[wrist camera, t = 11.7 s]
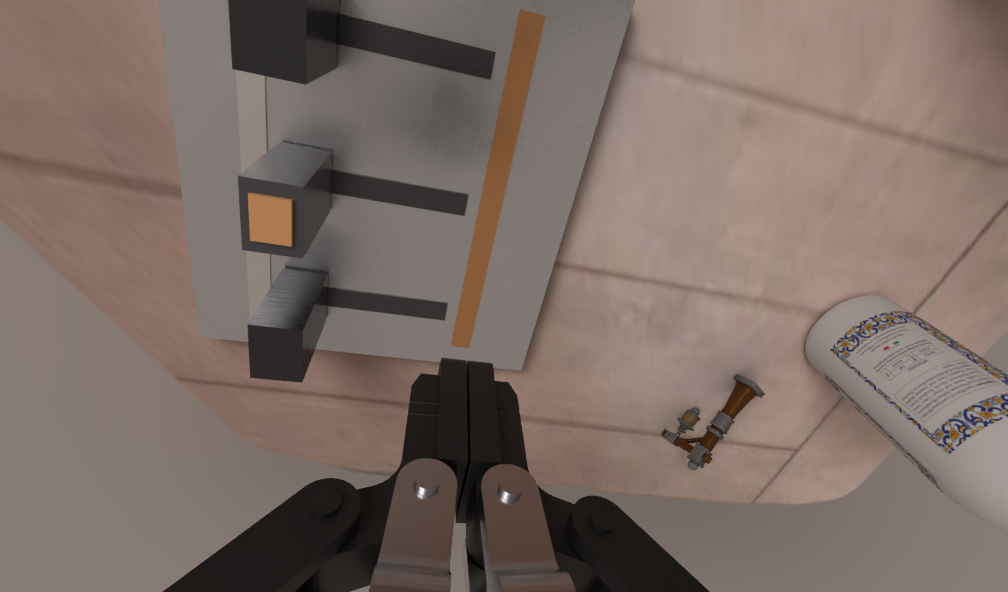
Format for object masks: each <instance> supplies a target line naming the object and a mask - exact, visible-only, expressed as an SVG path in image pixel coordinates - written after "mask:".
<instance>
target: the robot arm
mask: <svg viewBox="0 0 1008 592" xmlns="http://www.w3.org/2000/svg"><path fill="white" fill-rule="evenodd" d="M455 513H456V523H466V541H465V544H464V548H463V567H464V579H465V592H709V591H708V590H707V589H706V588H705V587H704V586H703V585H702V584H701V583H700V582H698V580H696V579H695V578H694V577H693V576H692V575H691V574H690V573H689V572H688V571H687V570H686V569H685V568H683V567H682V566H681V565H680V564H679V563H678V562H677V561H676V560H675V559H674V558H673V557H672V556H671V555H670V554H668V553H667V552H666V551H665V550H664V549H663V548H662V547H661V546H660V545H659V544H658V543H657V542H656V541H654V540H653V539H652V538H651V537H650V536H649V535H648V534H647V533H646V532H645V531H644V530H643V529H642V528H640V527H639V526H638V525H637V524H636V523H635V522H634V521H633V520H632V519H631V518H630V517H629V516H627V515H626V514H625V513H624V512H623V511H622V510H621V509H620V508H619V507H618V506H617V505H615V504H614V503H613V502H611V501H609V500H607V499H605V498H602V497H599V496H586V497H583V498H581V499H579V500H578V501H577V502H576V503H575V504H572V503H570V502H567V501H564V500H562V499H559V498H556V497H554V496H552V495H549V494H548V493H546V492H545V491H543V490H542V489H541V488H540V487H539V486H538V485H537V483H536V481H535V480H534V478H533V477H532V476H531V475H530V473H529V471H528V467H527V460H526V453H525V446H524V439H523V432H522V425H521V418H520V413H519V405H518V398H517V395H516V393H515V392H514V390H513V389H512V387H511V386H510V384H509V383H508V382H499V381H495V380H494V369H493V364H492V363H487V362H478V361H469V360H468V361H467V363H466V360H459V359H450V358H441V361H440V366H439V372H438V375H430V374H420V376H419V377H418V378H417V379H416V381H415V382H414V383H413V385H412V388H411V395H410V403H409V410H408V417H407V425H406V432H405V440H404V448H403V455H402V461H401V464H400V467H399V468H398V470H397V471H396V472H395V473H394V475H393V476H391V477H390V478H389V479H387V480H386V481H384V482H382V483H380V484H377V485H374V486H370V487H366V488H362V489H358V490H356V489H355V488H354V486H353V485H351V484H350V483H348V482H346V481H344V480H340V479H335V478H326V479H321V480H317V481H314V482H313V483H310V484H308V485H307V486H305V487H304V488H303V489H301V490H300V491H298V492H297V493H296V494H294V495H293V496H292V497H290V498H289V499H288V500H286V501H285V502H284V503H282V504H281V505H280V506H278V507H277V508H275V509H274V510H273V511H271V512H270V513H269V514H267V515H266V516H265V517H263V518H262V519H261V520H259V521H258V522H256V523H255V524H254V525H252V526H251V527H250V528H249V529H247V530H246V531H244V532H243V533H242V534H241V535H239V536H237V537H236V538H235V539H233V540H232V541H231V542H230V543H228V544H227V545H225V546H224V547H223V548H221V549H220V550H219V551H217V552H216V553H215V554H213V555H212V556H210V557H209V558H208V559H206V560H205V561H204V562H202V563H201V564H200V565H198V566H197V567H196V568H194V569H193V570H192V571H190V572H189V573H187V574H186V575H185V576H184V577H182V578H181V579H179V580H178V581H177V582H175V583H174V584H173V585H171V586H170V587H169V588H167V589H166V590H164V591H163V592H350V591H353V590H356V589H359V588H362V587H365V586H369V585H370V588H369V592H450V588H451V572H450V558H451V547H452V537H453V526H454V517H455Z"/></svg>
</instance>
